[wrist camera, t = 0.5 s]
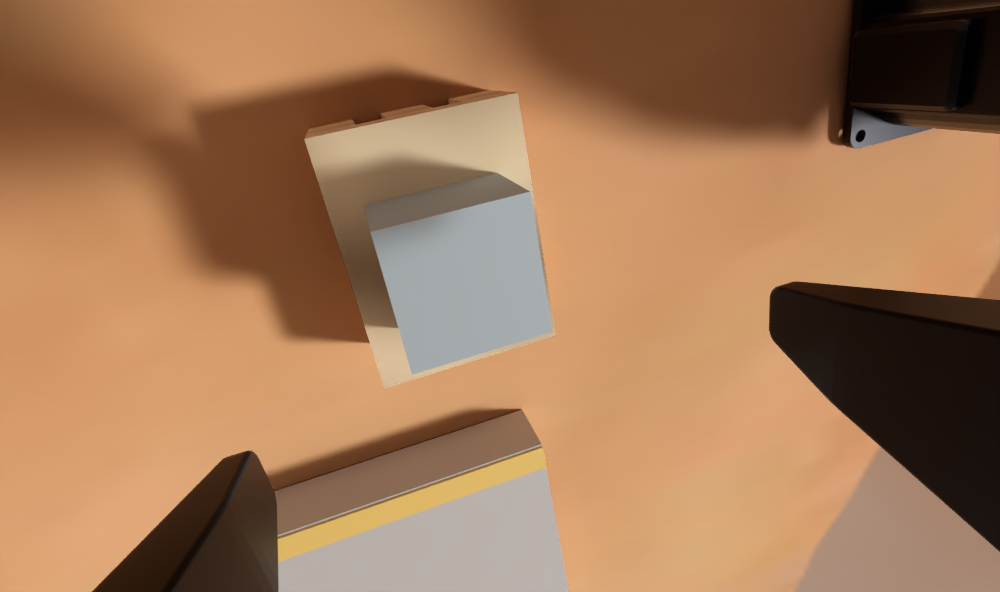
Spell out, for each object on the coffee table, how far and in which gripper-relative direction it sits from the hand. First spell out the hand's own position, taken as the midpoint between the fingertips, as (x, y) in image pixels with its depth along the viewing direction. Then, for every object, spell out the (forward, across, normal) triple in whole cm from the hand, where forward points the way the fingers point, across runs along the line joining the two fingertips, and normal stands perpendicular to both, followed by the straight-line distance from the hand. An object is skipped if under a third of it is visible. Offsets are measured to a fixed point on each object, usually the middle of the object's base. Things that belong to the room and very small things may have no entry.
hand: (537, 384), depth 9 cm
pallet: (+12, 0, 0) cm, 12 cm away
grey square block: (+8, 0, 0) cm, 8 cm away
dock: (+12, +4, +15) cm, 19 cm away
